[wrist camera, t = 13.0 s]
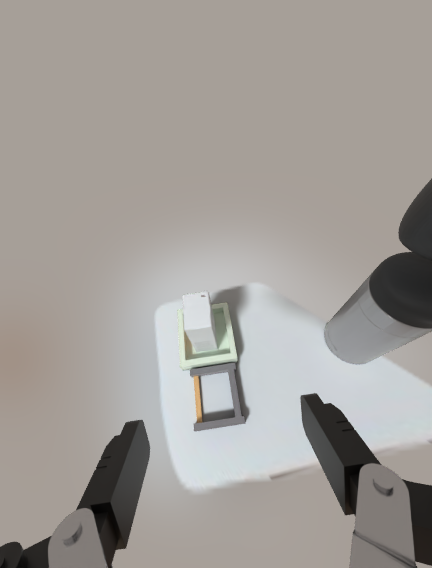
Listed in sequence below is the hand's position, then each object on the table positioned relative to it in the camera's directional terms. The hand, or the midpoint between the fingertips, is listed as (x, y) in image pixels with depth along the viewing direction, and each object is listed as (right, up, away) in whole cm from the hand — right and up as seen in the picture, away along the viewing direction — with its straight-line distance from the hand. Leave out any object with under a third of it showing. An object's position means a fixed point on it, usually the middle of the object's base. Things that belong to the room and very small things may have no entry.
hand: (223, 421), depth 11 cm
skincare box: (-2, -3, +33) cm, 33 cm away
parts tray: (-2, -4, +33) cm, 34 cm away
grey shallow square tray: (0, -12, +28) cm, 30 cm away
